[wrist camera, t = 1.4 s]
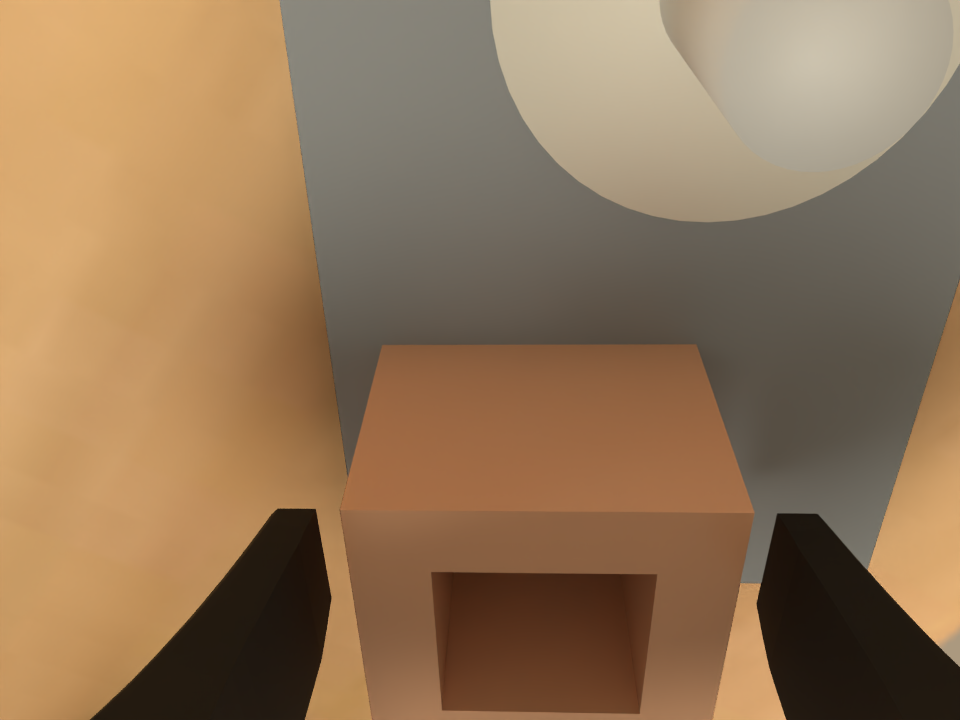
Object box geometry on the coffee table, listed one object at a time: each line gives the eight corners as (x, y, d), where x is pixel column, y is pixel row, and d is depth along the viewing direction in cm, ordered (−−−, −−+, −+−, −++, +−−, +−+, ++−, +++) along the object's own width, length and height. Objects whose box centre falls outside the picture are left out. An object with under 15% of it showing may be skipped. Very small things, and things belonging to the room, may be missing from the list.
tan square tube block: (665, 568, 17) (704, 757, 13) (405, 565, 17) (377, 751, 13) (696, 344, 14) (754, 512, 10) (381, 344, 14) (339, 510, 11)
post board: (846, 548, 17) (950, 777, 13) (369, 543, 18) (324, 764, 14) (1101, -327, 10) (1540, -438, 6) (258, -297, 10) (79, -380, 6)
